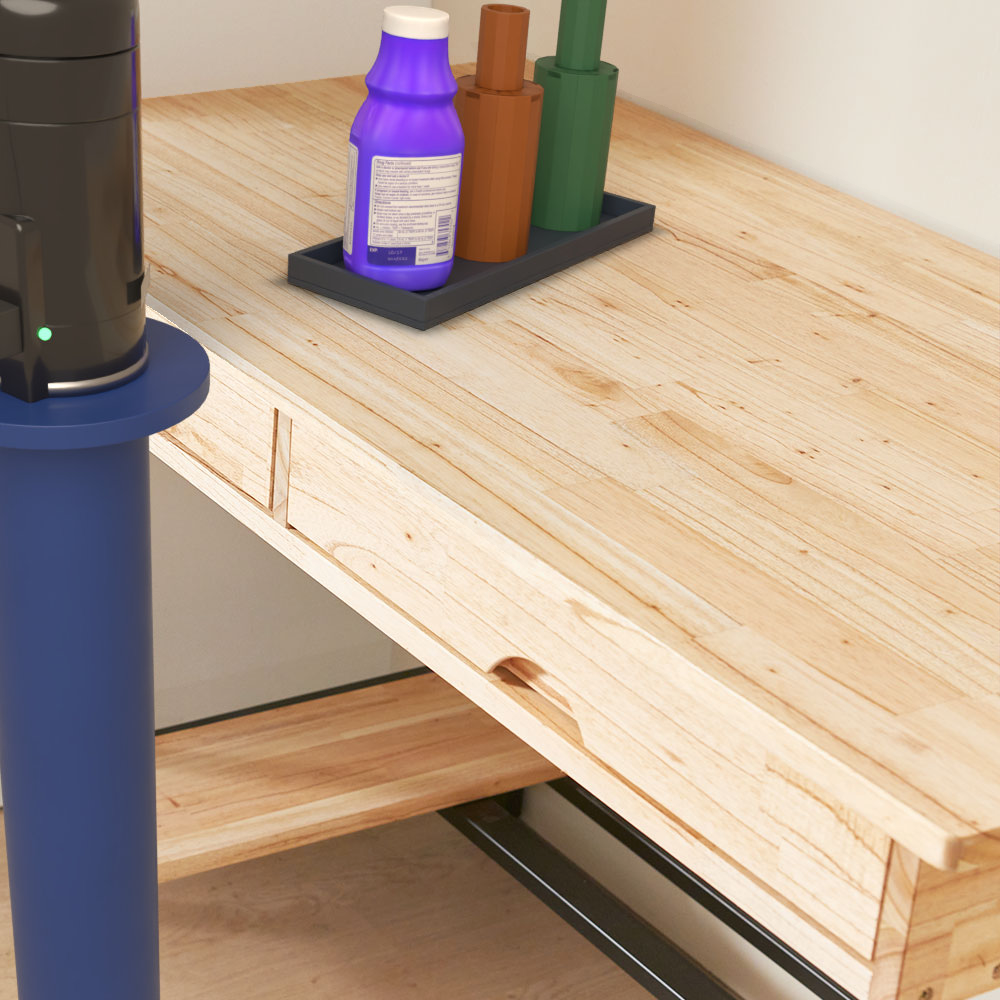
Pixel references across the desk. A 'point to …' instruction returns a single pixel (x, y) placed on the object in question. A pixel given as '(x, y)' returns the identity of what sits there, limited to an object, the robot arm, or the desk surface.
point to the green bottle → (574, 122)
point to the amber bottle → (498, 140)
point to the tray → (469, 268)
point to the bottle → (405, 157)
